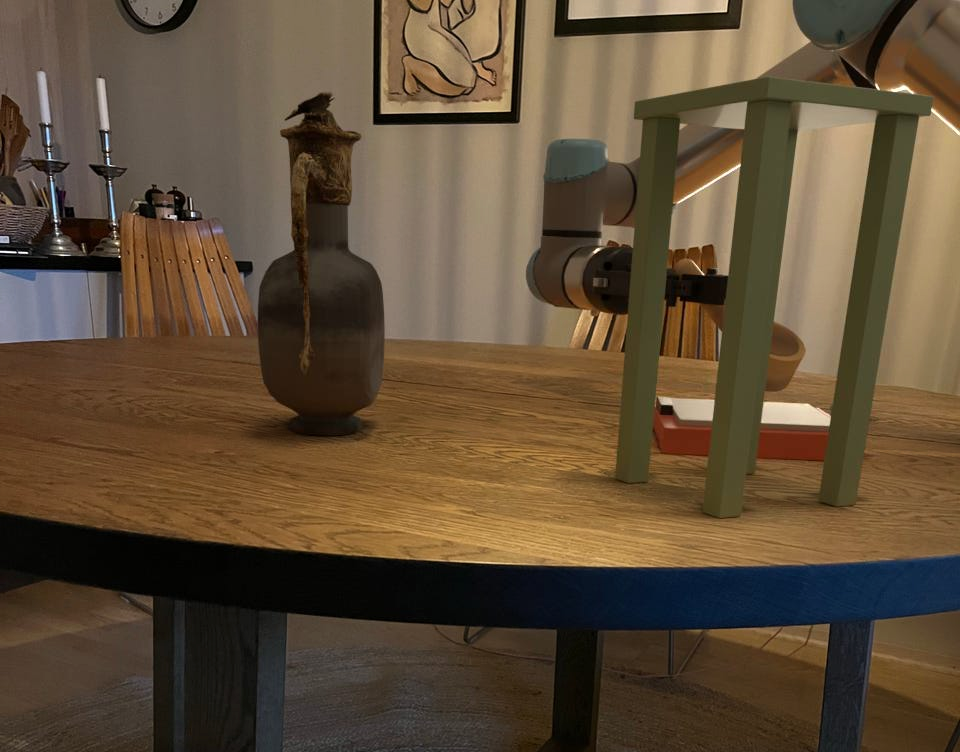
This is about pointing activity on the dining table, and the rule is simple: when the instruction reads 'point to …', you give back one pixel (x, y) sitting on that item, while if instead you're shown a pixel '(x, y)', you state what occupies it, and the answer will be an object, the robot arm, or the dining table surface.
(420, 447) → the dining table surface
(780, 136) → the shelf stand
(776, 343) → the scoop
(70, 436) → the dining table surface
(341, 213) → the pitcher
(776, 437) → the scale
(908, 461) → the dining table surface
